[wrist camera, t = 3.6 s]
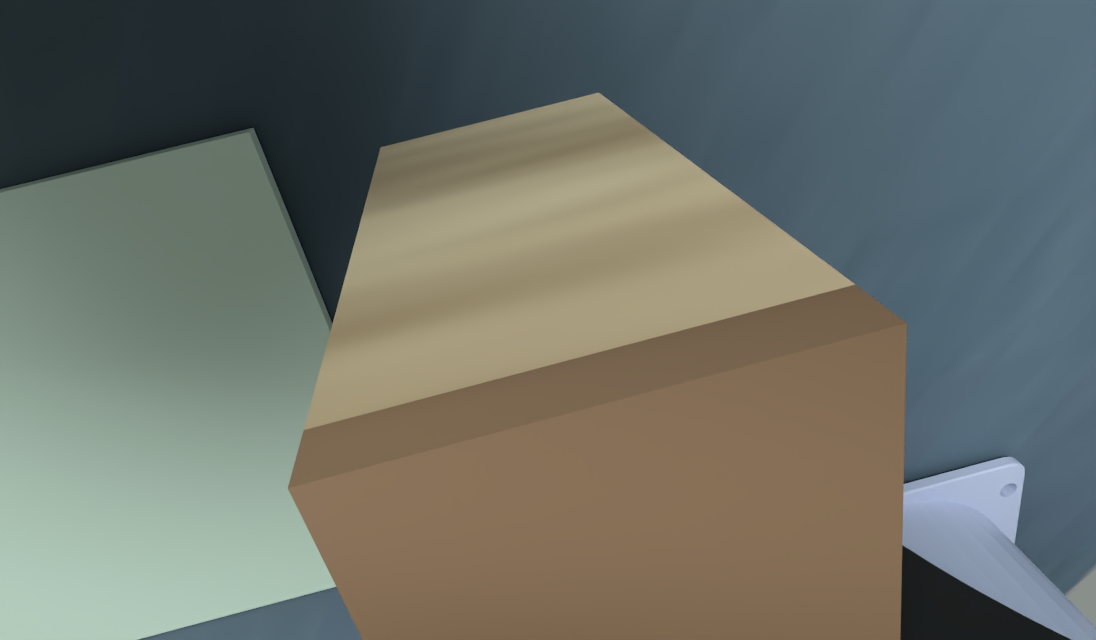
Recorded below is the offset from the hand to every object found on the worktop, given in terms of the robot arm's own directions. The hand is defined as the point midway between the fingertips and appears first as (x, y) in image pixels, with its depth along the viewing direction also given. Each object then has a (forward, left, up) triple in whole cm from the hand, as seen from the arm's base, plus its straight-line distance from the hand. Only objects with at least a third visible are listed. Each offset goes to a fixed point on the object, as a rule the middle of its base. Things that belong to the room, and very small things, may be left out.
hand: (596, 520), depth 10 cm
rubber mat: (-1, +12, -8) cm, 14 cm away
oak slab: (0, 0, -3) cm, 3 cm away
